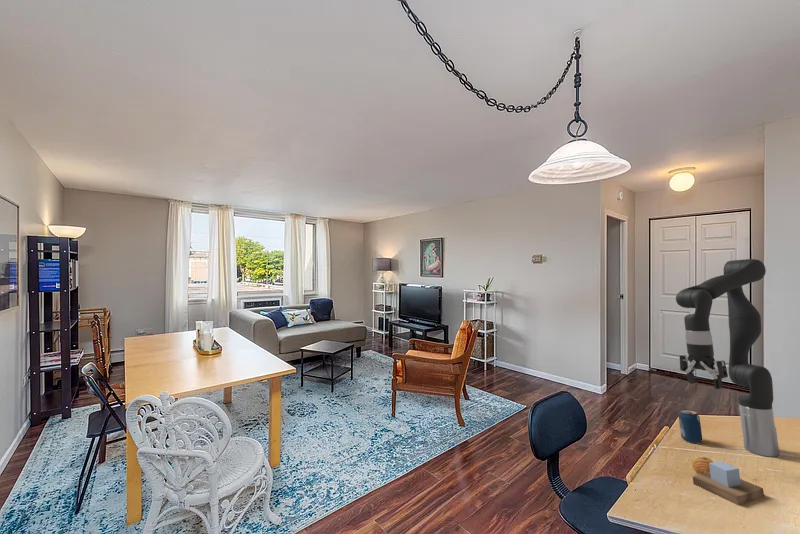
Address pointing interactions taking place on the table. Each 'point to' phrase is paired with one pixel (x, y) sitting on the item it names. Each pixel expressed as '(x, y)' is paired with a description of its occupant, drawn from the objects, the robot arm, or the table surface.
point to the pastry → (701, 465)
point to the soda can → (690, 426)
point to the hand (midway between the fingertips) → (704, 386)
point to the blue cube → (725, 474)
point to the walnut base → (729, 489)
